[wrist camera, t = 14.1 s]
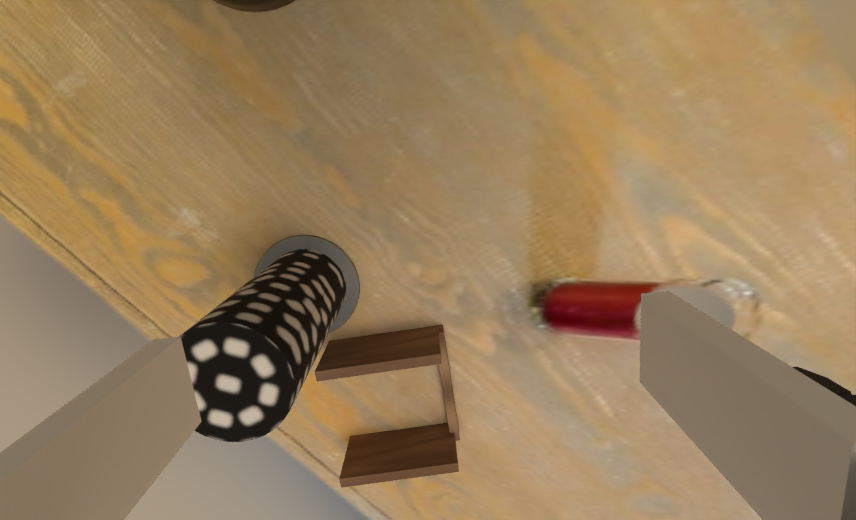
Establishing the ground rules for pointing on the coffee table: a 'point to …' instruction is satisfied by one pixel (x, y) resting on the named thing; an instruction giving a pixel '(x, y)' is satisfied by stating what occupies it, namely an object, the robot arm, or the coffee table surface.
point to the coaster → (331, 252)
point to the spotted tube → (262, 345)
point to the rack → (406, 447)
